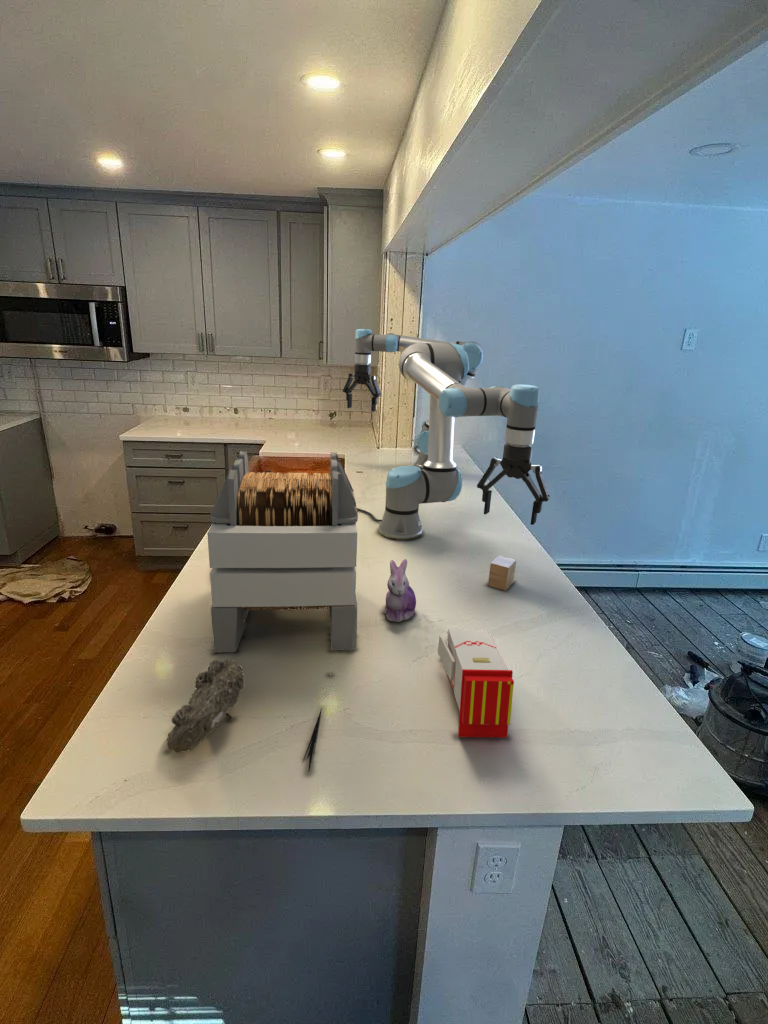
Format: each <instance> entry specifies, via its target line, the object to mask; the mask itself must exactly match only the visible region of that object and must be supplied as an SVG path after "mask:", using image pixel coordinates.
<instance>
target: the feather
mask: <svg viewBox="0 0 768 1024" xmlns="http://www.w3.org/2000/svg"><path fill="white" fill-rule="evenodd" d="M329 675H330V676H331V675H332V674H331V673H330V674H329ZM322 710H323V707H321V708H320V710H319V713H318V716H317V719H316V723H315V725H314V728H313V731H312V733H311V737H310V739H309V742H308V745H307V748H306V751H305V754H304V757H303V760H302V763H301V767H302V765H303V763H304V761H305V758H308V759H309V760H308V762H307V763H308V764H307V766H308V771H310V770H311V766H312V765H311V764H312V760H313V757H315V756H314V755H315V751H316V749H315V746H317V739H318V733H319V729H320V722H321V717H322V712H323V711H322ZM313 754H314V755H313ZM306 755H307V757H306Z"/></svg>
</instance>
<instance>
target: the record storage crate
mask: <svg viewBox="0 0 768 1024" xmlns="http://www.w3.org/2000/svg"><path fill="white" fill-rule="evenodd" d="M329 465H330V466H329V467H330V469H329V470H330V472H324V473H321V472H313V474H309V473H308V472H286V473H285V472H284V473H283V472H274V471H273V472H272V471H271V472H267V473H265V471H263V472H260V471H259V472H258V471H257V472H255V471H249V459H248V451H242V450H240V451H239V453H238V455H237V457H236V458H235V460H234V463H233V465H232V467H231V468H230V469H229V471H228V473H227V475H226V477H225V480H224V482H223V484H222V487H221V489H220V491H219V493H218V496H217V498H216V500H215V502H214V504H213V507H212V508H211V511H210V514H209V519H210V523H211V525H210V527H209V529H208V531H207V532H206V534H207V548H208V562H209V563H208V565H209V569H211V570H210V573H209V575H210V576H209V577H210V590H211V591H210V592H211V593H210V594H211V606H210V617H211V633H212V637H213V638H212V639H213V649H212V652H213V653H214V654H215V653H216V654H220V653H236V652H237V649H238V647H239V645H240V642H241V639H242V637H243V635H244V632H245V625H246V624H245V621H247V619H248V615H249V611H268V610H270V611H273V610H274V611H275V610H277V611H278V610H279V611H280V610H284V611H286V610H290V611H291V610H294V611H295V610H325V609H326V610H329V619H330V621H329V622H330V623H329V625H330V626H329V627H330V628H329V629H330V650H331V651H351V652H353V651H354V650H355V649H357V638H358V635H357V631H358V602H357V601H358V600H357V593H356V590H357V589H356V588H357V569H356V568H357V555H358V553H357V551H358V529H357V522H358V519H359V513H358V510H357V508H358V507H357V502H356V497H355V493H354V488H353V486H352V484H351V481H350V479H349V478H348V475H347V473H346V471H345V469H344V466H343V464H342V461H341V460H340V458H339V456H338V453H337V452H333V451H330V463H329Z"/></svg>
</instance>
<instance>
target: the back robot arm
mask: <svg viewBox="0 0 768 1024" xmlns="http://www.w3.org/2000/svg"><path fill="white" fill-rule="evenodd" d="M354 336H355V337H354V363H355V364H354V369H353V370H354V373H353V372H349V373H348V378H347V379H346V382H345V384H344V386H343V389H342V393H344V394H345V400H346V401H347V403H346V408H347V409H351V408H352V407H353V394H352V392H353V391H354V389H355V388H356V387H357V386H358V385H365V386H366V388H367V389H368V391H369V392H370V394H371V395H372V397H371V406H370V407H371V409H370V411H371V412H372V413H373V412H376V410H377V405H378V401H379V400H378V399H379V398H380V397H382V391H381V389H380V387H379V384H378V381H377V375H371V369H372V368H371V367H372V366H371V362H372V352H380V353H382V352H383V353H396V352H400V353H403V351H404V350H405V349H406V348H408V347H409V346H411V345H413V344H416V343H451V344H458V345H461V346H462V347H463V348H464V349H465V352H466V353H467V356H468V361H469V370H468V373H467V376H466V377H465V378H464V379H463V380H461V384H462V385H463V386H465V387H466V388H467V386H468V384H469V381H470V380H472V379H474V378H475V377H476V375H477V372H478V370H479V368H480V367H481V366H482V363H483V360H484V355H485V353H484V352H485V351H484V348H483V347H482V345H481V344H479V343H478V342H477V341H459V340H456V341H454V342H450V341H443V340H436V339H430V338H421V337H416V336H410V335H409V336H408V335H400V334H395V333H393V332H390V333H386V334H380V333H379V334H377V333H373V330H372V329H369V328H358V329H356V330H355V335H354ZM416 438H417V439H416V445H415V447H414V450H415V453H417V454H418V456H417V459H416V461H415V466H416V467H419V468H420V469H421V470H423V464H424V463H425V462H426V461H427V459H428V442H429V419H427V420H424V421H422V424H421V429H420V432H419V434H418V435H417V437H416ZM418 450H419V451H418Z"/></svg>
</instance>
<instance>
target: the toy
mask: <svg viewBox="0 0 768 1024" xmlns="http://www.w3.org/2000/svg"><path fill="white" fill-rule="evenodd" d="M446 640H447V643H446V641H445V639H444V636H443V635H442V634H439V637H438V646H437V656H438V657H439V659H440V661H441V663H442V666H443V668H444V670H445V672H446V674H447V677H448V679H449V681H450V684H451V687H452V690H453V693H454V697H455V701H456V705H457V708H458V711H459V714H458V715H459V716H458V730H457V731H458V732H457V737H458V738H508V731H509V726H510V725H511V717H512V707H513V697H514V696H513V695H514V684H515V680H514V679H513V673H514V671H513V670H512V669H508V667H507V665H506V662H505V661H504V659H503V658H502V655H501V653H500V651H499V649H498V647H497V643H496V639H495V637H494V635H493V634H491V632H490V631H489V629H467V628H466V629H465V628H463V629H461V628H460V629H459V628H448V630H447V639H446Z"/></svg>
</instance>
